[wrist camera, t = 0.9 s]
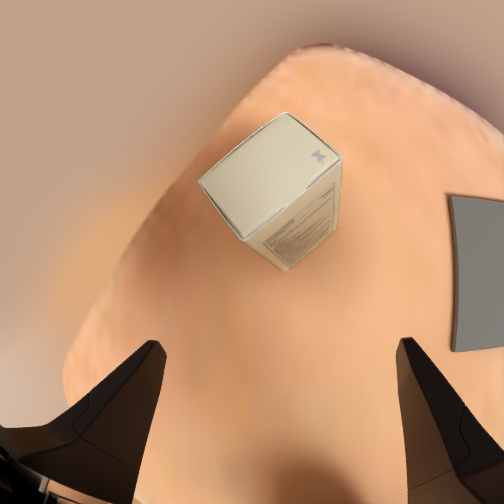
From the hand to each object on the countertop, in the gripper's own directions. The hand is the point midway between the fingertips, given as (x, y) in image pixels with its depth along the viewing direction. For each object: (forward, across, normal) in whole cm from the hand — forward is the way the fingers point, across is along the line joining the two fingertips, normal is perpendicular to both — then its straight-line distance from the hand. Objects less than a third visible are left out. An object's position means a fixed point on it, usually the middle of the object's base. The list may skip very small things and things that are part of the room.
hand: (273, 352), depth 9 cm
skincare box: (+16, 0, +4) cm, 16 cm away
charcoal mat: (+12, -22, +8) cm, 26 cm away
